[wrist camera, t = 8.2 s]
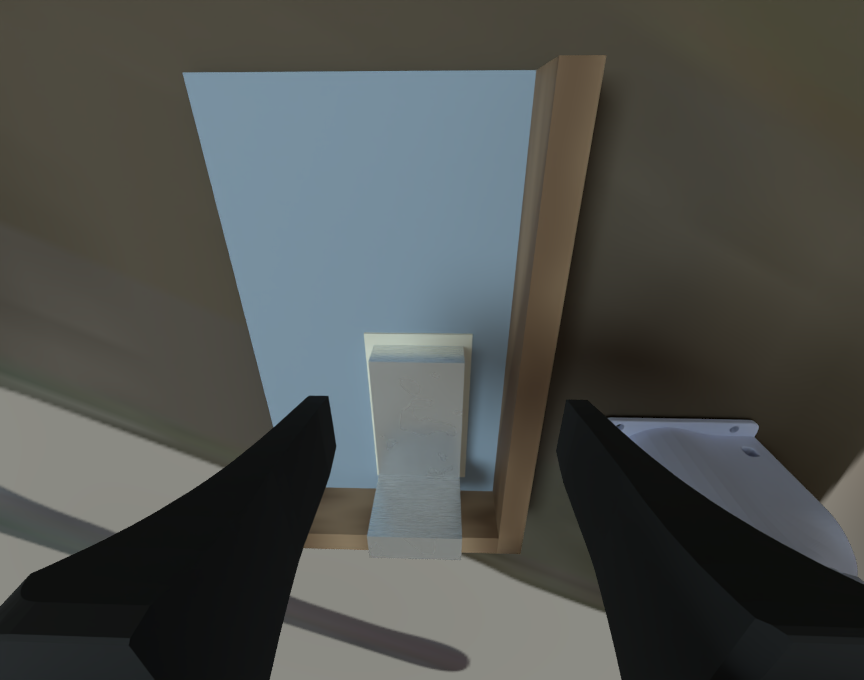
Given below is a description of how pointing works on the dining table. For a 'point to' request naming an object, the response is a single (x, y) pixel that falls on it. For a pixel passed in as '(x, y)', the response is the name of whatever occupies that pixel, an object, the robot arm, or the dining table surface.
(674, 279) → the dining table surface
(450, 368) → the bracket
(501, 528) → the walls
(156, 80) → the dining table surface
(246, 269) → the mat
